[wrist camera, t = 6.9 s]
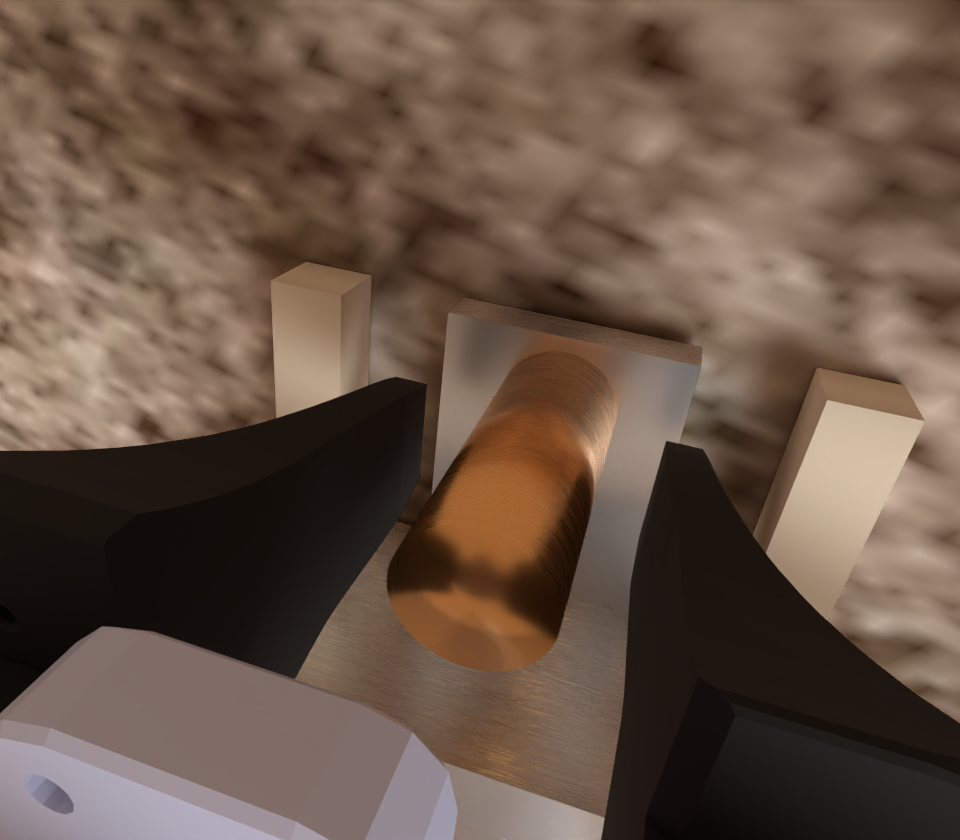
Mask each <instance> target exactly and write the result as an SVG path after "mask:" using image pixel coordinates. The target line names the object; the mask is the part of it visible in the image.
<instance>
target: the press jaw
mask: <svg viewBox="0 0 960 840" xmlns="http://www.w3.org/2000/svg"><path fill="white" fill-rule="evenodd" d="M701 363H702V347H700V346H695V345H690V344H685V343H681V342H676V341H671V340H666V339H661V338H657V337H652V336H647V335H642V334H637V333H633V332H628V331H623V330H618V329H613V328H608V327H604V326H599V325H594V324H589V323H584V322H580V321H575V320H570V319H565V318H560V317H555V316H551V315H546V314H541V313H536V312H531V311H527V310H522V309H517V308H512V307H507V306H502V305H498V304H493V303H488V302H483V301H478V300H474V299H469V298H464V297H463V298H462V299H461V300H460V301H459V302H458V303H457V304H456V305H455V306H454V307H453V308H452V309H451V310H450V311H449V312H448V320H447V331H446V342H445V353H444V364H443V375H442V386H441V397H440V408H439V419H438V430H437V441H436V452H435V463H434V474H433V485H432V495H431V497H430V498H429V500H428V501H427V503H426V505H425V506H424V508H423V509H422V511H421V513H420V514H419V516H418V517H417V519H416V520H415V522H414V524H413V525H408V524H404V523H401V522H396V523H395V525H394V526H393V528H392V529H391V531H390V532H389V534H388V535H387V536H386V538H385V539H384V541H383V542H382V544H381V545H380V546H379V548H378V549H377V551H376V552H375V553H374V555H373V556H372V558H371V559H370V560H369V562H368V563H367V565H366V566H365V567H364V569H363V570H362V572H361V573H360V574H359V576H358V577H357V579H356V580H355V581H354V583H353V584H352V586H351V587H350V588H349V590H348V591H347V593H346V594H345V595H344V597H343V598H342V600H341V601H340V602H339V604H338V605H337V607H336V608H335V610H334V611H333V613H332V615H331V616H330V618H329V619H328V621H327V622H326V624H325V626H324V627H323V629H322V631H321V633H320V635H319V636H318V638H317V640H316V642H315V644H314V645H313V647H312V649H311V651H310V653H309V654H308V656H307V658H306V660H305V662H304V663H303V665H302V667H301V669H300V671H299V673H298V675H297V676H296V678H295V679H296V680H299V681H302V682H305V683H308V684H311V685H313V686H316V687H319V688H322V689H325V690H328V691H331V692H334V693H337V694H340V695H343V696H346V697H349V698H352V699H355V700H358V701H361V702H364V703H366V704H368V705H370V706H372V707H374V708H375V709H377V710H379V711H381V712H383V713H385V714H387V715H388V716H390V717H392V718H394V719H396V720H398V721H400V722H402V723H403V724H405V725H407V726H409V727H411V728H412V729H413V730H414V732H415V733H416V734H417V735H418V736H419V737H420V738H421V739H422V740H423V741H424V743H425V744H426V745H427V746H428V747H429V748H430V749H431V750H432V751H433V752H434V754H435V755H436V756H437V757H438V758H439V759H440V760H441V761H442V762H443V764H444V765H445V767H446V769H447V770H448V772H449V776H450V780H451V784H452V788H453V793H454V797H455V801H456V805H457V809H458V812H457V818H456V822H459V823H461V824H464V825H467V826H470V827H473V828H475V829H478V830H481V831H484V832H486V833H489V834H492V835H495V836H497V837H500V838H503V839H506V840H601V836H602V831H603V825H604V819H605V813H606V807H607V801H608V796H609V790H610V784H611V778H612V772H613V766H614V760H615V754H616V748H617V742H618V736H619V730H620V724H621V717H622V707H623V698H624V684H625V666H626V648H627V630H628V613H629V597H630V583H631V577H632V572H633V566H634V561H635V556H636V551H637V545H638V540H639V535H640V532H641V528H642V524H643V521H644V517H645V514H646V510H647V507H648V503H649V500H650V496H651V493H652V489H653V485H654V482H655V478H656V475H657V471H658V468H659V464H660V461H661V457H662V453H663V450H664V446H665V443H666V441H670V442H674V443H678V444H679V441H680V438H681V434H682V431H683V427H684V424H685V421H686V417H687V414H688V410H689V407H690V403H691V400H692V397H693V393H694V390H695V386H696V383H697V380H698V376H699V373H700V369H701Z"/></svg>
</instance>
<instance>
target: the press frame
mask: <svg viewBox="0 0 960 840" xmlns="http://www.w3.org/2000/svg"><path fill="white" fill-rule="evenodd" d="M371 283H372V275H368V274H363V273H358V272H353V271H348V270H343V269H339V268H334V267H329V266H324V265H319V264H314V263H309V262H305V263H303V264H301V265H299V266H297V267H295V268H294V269H292V270H290V271H288V272H286V273H284V274H282V275H280V276H278V277H276V278H274V279H272V280H271V301H272V326H273V350H274V375H275V399H276V418H279V417H282V416H285V415H288V414H291V413H294V412H297V411H300V410H303V409H306V408H309V407H312V406H315V405H318V404H320V403H323V402H326V401H329V400H331V399H334V398H337V397H339V396H342V395H345V394H347V393H350V392H352V391H355V390H358V389H360V388H363V387H366V386H368V374H369V343H370V313H371ZM924 422H925V420H924V419H923V417H922V415H921V413H920V412H919V410H918V408H917V406H916V404H915V403H914V401H913V399H912V397H911V396H910V394H909V392H908V390H907V389H906V387H905V386H904V385H900V384H895V383H890V382H885V381H880V380H875V379H871V378H866V377H861V376H856V375H851V374H846V373H841V372H837V371H832V370H827V369H822V368H816V371H815V373H814V376H813V379H812V381H811V384H810V386H809V389H808V392H807V394H806V397H805V400H804V402H803V405H802V407H801V410H800V413H799V415H798V418H797V420H796V423H795V426H794V428H793V431H792V433H791V436H790V439H789V441H788V444H787V446H786V449H785V452H784V454H783V457H782V460H781V462H780V465H779V467H778V470H777V473H776V475H775V478H774V480H773V483H772V486H771V488H770V491H769V493H768V496H767V499H766V501H765V504H764V506H763V509H762V512H761V514H760V517H759V520H758V522H757V525H756V527H755V530H754V533H753V537H754V538H755V539H756V541H757V542H758V543H759V545H760V546H761V547H762V549H763V550H764V552H765V553H766V554H767V556H768V557H769V558H770V559H771V561H772V562H773V563H774V564H775V566H776V567H777V568H778V569H779V570H780V572H781V573H782V574H783V575H784V576H785V577H786V578H787V579H788V580H789V582H790V583H791V584H792V585H793V586H794V587H795V588H796V589H797V591H798V592H799V593H800V594H801V595H802V596H803V597H804V598H805V599H806V600H807V601H808V602H809V603H810V604H811V605H812V606H813V607H814V608H815V609H816V610H817V611H818V612H819V613H820V614H821V615H822V616H823V617H824V618H825V619H826V620H827V621H828V618H829V616H830V614H831V612H832V610H833V608H834V606H835V604H836V602H837V600H838V598H839V596H840V594H841V592H842V590H843V588H844V586H845V584H846V582H847V580H848V578H849V575H850V573H851V571H852V569H853V567H854V565H855V563H856V561H857V559H858V557H859V555H860V553H861V551H862V549H863V547H864V545H865V543H866V541H867V539H868V537H869V535H870V532H871V530H872V528H873V526H874V524H875V522H876V520H877V518H878V516H879V514H880V512H881V510H882V508H883V506H884V504H885V502H886V500H887V498H888V496H889V494H890V492H891V489H892V487H893V485H894V483H895V481H896V479H897V477H898V475H899V473H900V471H901V469H902V467H903V465H904V463H905V461H906V459H907V457H908V455H909V453H910V451H911V449H912V446H913V444H914V442H915V440H916V438H917V436H918V434H919V432H920V430H921V428H922V426H923V424H924Z"/></svg>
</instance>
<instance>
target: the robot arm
mask: <svg viewBox="0 0 960 840" xmlns="http://www.w3.org/2000/svg"><path fill="white" fill-rule="evenodd" d="M426 388H427V384H424V383H420V382H415V381H411V380H407V379H403V378H398V377H393V378H389V379H386V380H382V381H380V382H377V383H374V384H371V385H368V386H366V387H363V388H360V389H358V390H355V391H352V392H350V393H347V394H345V395H342V396H339V397H337V398H334V399H331V400H329V401H326V402H323V403H320V404H318V405H315V406H312V407H309V408H306V409H303V410H300V411H297V412H294V413H291V414H288V415H285V416H282V417H279V418H275V419H272V420H269V421H266V422H262V423H259V424H255V425H251V426H248V427H244V428H240V429H235V430H231V431H226V432H222V433H217V434H213V435H208V436H203V437H196V438H189V439H183V440H176V441H170V442H163V443H157V444H150V445H141V446H130V447H120V448H106V449H90V450H68V451H0V840H453V837H454V831H455V825H456V818H457V812H458V809H457V805H456V801H455V797H454V793H453V788H452V784H451V780H450V776H449V772H448V770H447V769H446V767H445V765H444V764H443V762H442V761H441V760H440V759H439V758H438V757H437V756H436V755H435V754H434V752H433V751H432V750H431V749H430V748H429V747H428V746H427V745H426V744H425V743H424V741H423V740H422V739H421V738H420V737H419V736H418V735H417V734H416V733H415V732H414V730H413V729H412V728H411V727H409V726H407V725H405V724H403V723H402V722H400V721H398V720H396V719H394V718H392V717H390V716H388V715H387V714H385V713H383V712H381V711H379V710H377V709H375V708H374V707H372V706H370V705H368V704H366V703H364V702H361V701H358V700H355V699H352V698H349V697H346V696H343V695H340V694H337V693H334V692H331V691H328V690H325V689H322V688H319V687H316V686H313V685H311V684H308V683H305V682H302V681H299V680H296V679H295V678H296V676H297V675H298V673H299V671H300V669H301V667H302V665H303V663H304V662H305V660H306V658H307V656H308V654H309V653H310V651H311V649H312V647H313V645H314V644H315V642H316V640H317V638H318V636H319V635H320V633H321V631H322V629H323V627H324V626H325V624H326V622H327V621H328V619H329V618H330V616H331V615H332V613H333V611H334V610H335V608H336V607H337V605H338V604H339V602H340V601H341V600H342V598H343V597H344V595H345V594H346V593H347V591H348V590H349V588H350V587H351V586H352V584H353V583H354V581H355V580H356V579H357V577H358V576H359V574H360V573H361V572H362V570H363V569H364V567H365V566H366V565H367V563H368V562H369V560H370V559H371V558H372V556H373V555H374V553H375V552H376V551H377V549H378V548H379V546H380V545H381V544H382V542H383V541H384V539H385V538H386V536H387V535H388V534H389V532H390V531H391V529H392V528H393V526H394V525H395V523H396V522H397V521H398V519H399V517H400V515H401V513H402V511H403V510H404V508H405V506H406V504H407V502H408V500H409V498H410V496H411V494H412V492H413V490H414V488H415V486H416V484H417V482H418V480H419V477H420V464H421V451H422V439H423V426H424V414H425V401H426ZM601 840H960V723H958V722H957V721H955V720H954V719H952V718H951V717H949V716H948V715H946V714H945V713H943V712H942V711H940V710H939V709H937V708H936V707H935V706H933V705H932V704H930V703H929V702H927V701H926V700H924V699H923V698H921V697H920V696H918V695H917V694H915V693H914V692H913V691H911V690H910V689H909V688H907V687H906V686H905V685H903V684H902V683H901V682H900V681H898V680H897V679H896V678H894V677H893V676H892V675H891V674H889V673H888V672H887V671H885V670H884V669H883V668H882V667H880V666H879V665H878V664H876V663H875V662H874V661H873V660H871V659H870V658H869V657H868V656H867V655H865V654H864V653H863V652H862V651H861V650H859V649H858V648H857V647H856V646H855V645H854V644H852V643H851V642H850V641H849V640H848V639H847V638H846V637H844V636H843V635H842V634H841V633H840V632H839V631H838V630H837V629H836V628H835V627H834V626H833V625H832V624H830V623H829V622H828V621H827V620H826V619H825V618H824V617H823V616H822V615H821V614H820V613H819V612H818V611H817V610H816V609H815V608H814V607H813V606H812V605H811V604H810V603H809V602H808V601H807V600H806V599H805V598H804V597H803V596H802V595H801V594H800V593H799V592H798V591H797V589H796V588H795V587H794V586H793V585H792V584H791V583H790V582H789V580H788V579H787V578H786V577H785V576H784V575H783V574H782V573H781V572H780V570H779V569H778V568H777V567H776V566H775V564H774V563H773V562H772V561H771V559H770V558H769V557H768V556H767V554H766V553H765V552H764V550H763V549H762V547H761V546H760V545H759V543H758V542H757V541H756V539H755V538H754V537H753V535H752V534H751V532H750V531H749V530H748V528H747V527H746V525H745V523H744V522H743V520H742V518H741V517H740V515H739V514H738V512H737V510H736V509H735V507H734V505H733V504H732V502H731V500H730V499H729V497H728V495H727V493H726V492H725V490H724V488H723V486H722V484H721V482H720V480H719V479H718V477H717V475H716V473H715V471H714V469H713V467H712V465H711V463H710V461H709V459H708V457H707V455H706V454H705V452H704V450H703V449H699V448H695V447H691V446H687V445H682V444H678V443H674V442H670V441H666V443H665V446H664V450H663V453H662V457H661V461H660V464H659V468H658V471H657V475H656V478H655V482H654V485H653V489H652V493H651V496H650V500H649V503H648V507H647V510H646V514H645V517H644V521H643V524H642V528H641V532H640V535H639V540H638V545H637V551H636V556H635V561H634V566H633V572H632V577H631V583H630V597H629V613H628V630H627V648H626V666H625V684H624V698H623V707H622V717H621V724H620V730H619V736H618V742H617V748H616V754H615V760H614V766H613V772H612V778H611V784H610V790H609V796H608V801H607V807H606V813H605V819H604V825H603V831H602V836H601Z"/></svg>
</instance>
